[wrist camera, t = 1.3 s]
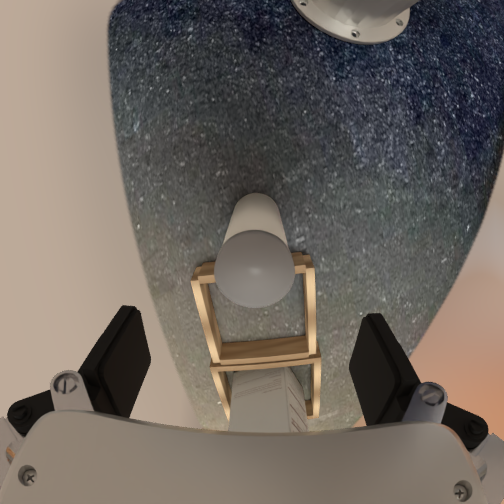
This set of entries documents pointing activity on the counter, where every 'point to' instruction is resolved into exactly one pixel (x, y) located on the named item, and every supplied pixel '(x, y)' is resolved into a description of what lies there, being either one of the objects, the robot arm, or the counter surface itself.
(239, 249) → the frosted tube
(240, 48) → the counter surface
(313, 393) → the oak rack
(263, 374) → the supplement box
